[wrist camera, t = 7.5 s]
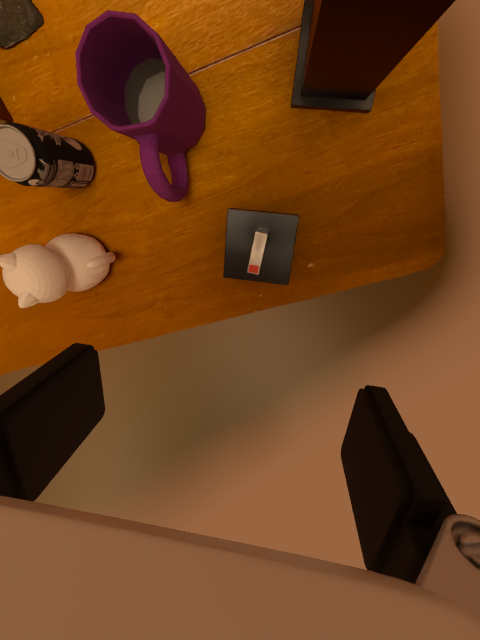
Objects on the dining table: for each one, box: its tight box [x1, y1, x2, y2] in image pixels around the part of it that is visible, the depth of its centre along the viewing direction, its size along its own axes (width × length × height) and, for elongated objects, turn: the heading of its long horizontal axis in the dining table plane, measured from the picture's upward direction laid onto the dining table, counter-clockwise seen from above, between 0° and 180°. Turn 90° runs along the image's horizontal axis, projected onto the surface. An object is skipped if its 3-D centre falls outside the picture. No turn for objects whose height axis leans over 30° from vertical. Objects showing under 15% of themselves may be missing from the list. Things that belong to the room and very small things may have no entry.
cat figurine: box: [0, 234, 116, 308], centre depth 43 cm, size 9×12×15 cm
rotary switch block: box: [223, 208, 299, 285], centre depth 44 cm, size 10×10×3 cm
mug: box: [76, 10, 206, 202], centre depth 35 cm, size 9×16×15 cm, turn 7°
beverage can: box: [0, 123, 94, 188], centre depth 39 cm, size 7×7×12 cm
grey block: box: [247, 228, 269, 275], centre depth 41 cm, size 6×2×5 cm, turn 169°
